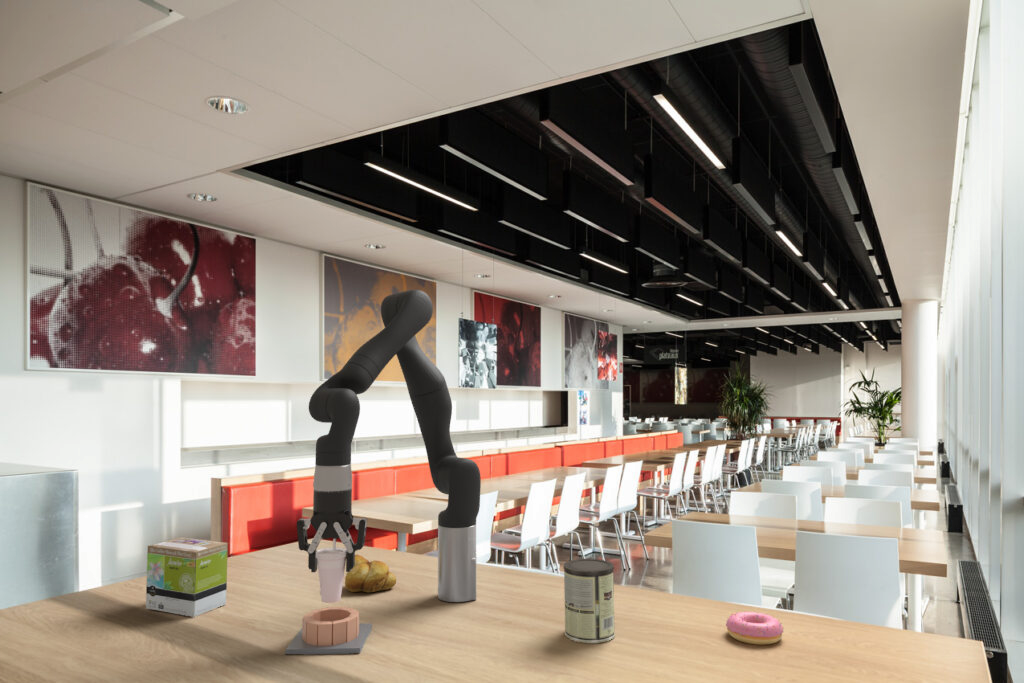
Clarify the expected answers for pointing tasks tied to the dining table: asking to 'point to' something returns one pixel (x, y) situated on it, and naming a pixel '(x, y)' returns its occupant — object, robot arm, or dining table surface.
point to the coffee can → (589, 600)
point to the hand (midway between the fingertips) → (331, 570)
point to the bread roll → (369, 576)
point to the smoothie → (331, 572)
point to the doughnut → (754, 628)
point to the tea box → (186, 576)
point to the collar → (330, 632)
